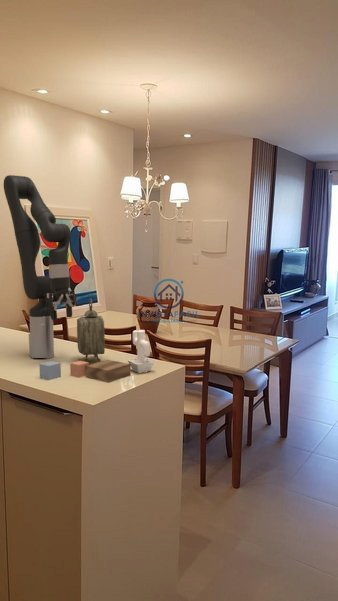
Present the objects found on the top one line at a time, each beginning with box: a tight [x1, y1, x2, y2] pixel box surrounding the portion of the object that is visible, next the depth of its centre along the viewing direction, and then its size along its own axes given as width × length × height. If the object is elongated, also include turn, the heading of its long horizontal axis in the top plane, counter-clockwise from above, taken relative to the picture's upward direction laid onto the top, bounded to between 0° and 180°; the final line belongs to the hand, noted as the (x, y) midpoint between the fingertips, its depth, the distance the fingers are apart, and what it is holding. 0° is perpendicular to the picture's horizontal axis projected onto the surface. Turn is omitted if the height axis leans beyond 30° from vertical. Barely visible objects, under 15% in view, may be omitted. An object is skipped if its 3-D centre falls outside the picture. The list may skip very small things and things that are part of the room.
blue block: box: [38, 360, 62, 381], centre depth 158 cm, size 5×5×5 cm
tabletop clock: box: [76, 298, 106, 362], centre depth 179 cm, size 14×9×25 cm, turn 16°
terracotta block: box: [69, 360, 90, 378], centre depth 160 cm, size 4×4×4 cm
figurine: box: [127, 329, 156, 374], centre depth 165 cm, size 7×9×15 cm
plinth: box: [85, 359, 132, 383], centre depth 159 cm, size 11×11×4 cm
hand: (62, 318), depth 176 cm, fingers open, 8 cm apart
